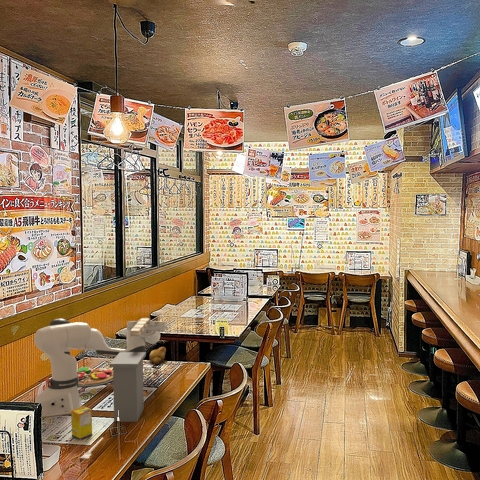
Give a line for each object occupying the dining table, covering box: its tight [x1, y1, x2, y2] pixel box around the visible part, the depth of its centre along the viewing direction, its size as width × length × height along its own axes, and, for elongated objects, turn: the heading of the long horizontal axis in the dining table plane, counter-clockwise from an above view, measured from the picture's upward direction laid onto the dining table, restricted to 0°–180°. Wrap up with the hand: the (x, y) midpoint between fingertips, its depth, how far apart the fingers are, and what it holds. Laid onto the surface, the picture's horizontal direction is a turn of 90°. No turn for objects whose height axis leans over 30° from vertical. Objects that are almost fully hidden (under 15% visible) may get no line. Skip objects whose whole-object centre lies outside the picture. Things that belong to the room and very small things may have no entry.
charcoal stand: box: [108, 351, 147, 423], centre depth 228 cm, size 18×12×26 cm, turn 179°
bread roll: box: [148, 346, 167, 364], centre depth 310 cm, size 13×10×8 cm
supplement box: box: [70, 405, 93, 441], centre depth 207 cm, size 6×6×11 cm
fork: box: [78, 437, 104, 460], centre depth 196 cm, size 3×20×2 cm, turn 173°
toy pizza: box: [77, 366, 113, 388], centre depth 279 cm, size 28×28×4 cm
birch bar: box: [130, 317, 151, 336], centre depth 253 cm, size 26×4×3 cm, turn 179°
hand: (144, 321), depth 262 cm, fingers closed on birch bar, 4 cm apart
